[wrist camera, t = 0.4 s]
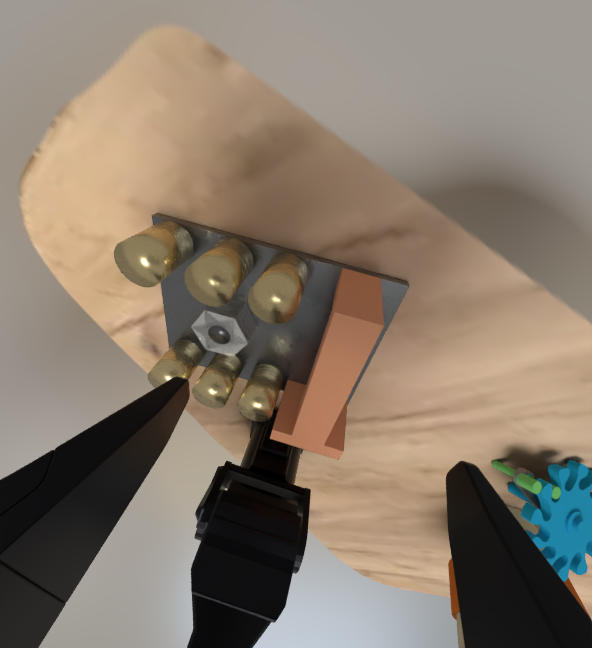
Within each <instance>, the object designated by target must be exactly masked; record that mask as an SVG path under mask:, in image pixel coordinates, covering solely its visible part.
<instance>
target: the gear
mask: <svg viewBox="0 0 592 648" xmlns="http://www.w3.org/2000/svg"><path fill="white" fill-rule="evenodd" d="M492 466H493V467H494V468H496V469H498V470H500V471H502V472H504V473H506V474H507V475H509V476H511V477H513V481H514V483H512V482H511V483H510V484H509V485H508V490H509V492H511V493H513V494H514V495H516V496H518V497H519V498H521V499H523V500H525V501H526V502H528V503H525V505H524V507H523V509H522V512H521V517H522V518H524V519H526V520H527V521H529V522H530V523H532V524H533V525H539V532H538V533H537V534H536V535H534V534H533V533H532V532H530V531H528V530H525V531H526V532H527V534H528V535H529V536H530V538H531V539H532V540H533V542H534V543H535V544H536V546H537V547H538V548H539V550H541V549H542V548H544V547H545V548H544V549H543V550H542V551H541V552H542V554H543V555H544V556H545V558H546V559H547V560H548V562H549V563H550V564H551V566H552V567H553V568H554V570H555V571H556V572H557V574H558V575H559V576H560V578H561V579H562V580H563V581H566V580H567V578H568V573H569V569H570V570H572V571H573V572H574V573H576V574H577V575H582V574H584V573H586V572H587V564H586V561H585V552H586V553H587V554H589V555H590V556H592V492H591V493H590V491H591V489H592V470H590V469H588V468H587V467H586V466H585V465H583V464H580V463H578V462H575V461H573V460H569V461H568V464H567V468H566V467H563V466H561V465H558V464H551V465H549V467H548V473H549V475H550V483H549V482H547V481H545V480H543V479H540V478H538V479H535V477H534V474H533V473H532V472H530V471H528V470H526V469H524V468H521V467H520V468H518V469H516V470H515V469H513V468H511V467H509V466H507V465H505V464H503V463H501V462H499V461H497V460H494V461H493V463H492ZM529 503H530V504H529ZM532 505H533V506H532ZM534 506H535V507H534Z"/></svg>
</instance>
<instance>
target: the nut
mask: <svg viewBox="0 0 592 648" xmlns="http://www.w3.org/2000/svg"><path fill="white" fill-rule="evenodd" d="M191 327H192V329H193V331H194V332H195V334H196V335H197V337H198V338H199V340H200V341H201V343H202V345H203V346H204V348H205V349H207V350H210V351H213V352H217V353H220V354H223V355H227V356H230V357H233V356H234V355H235V354H236V353H238V352H239V351H240V350H241V349H242V348H243V347H244V346H246V345H247V344H248V342H249V340H250V339H251V337H252V335H253V333H254V331H255V329H256V327H257V325H256V323H255V321H254V319H253V317H252V315H251V313H250V311H249V309H248V307H247V305H246V303H244V302H240V301H237V300H233V299H230V300H229V301H228V302H227V303H226V304H225V305H222V306H218V307H213V306H208V307H207V308H206V309H205V311H204V312H203V313H202V314H201V315H200V317H199V318H198V319H197V320H196V321H195V323H194V324H193V325H192V326H191Z"/></svg>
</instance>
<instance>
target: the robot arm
mask: <svg viewBox="0 0 592 648" xmlns="http://www.w3.org/2000/svg"><path fill="white" fill-rule="evenodd" d="M189 396H190V393H189V381H188V380H187V379H185V378H182V377H178V376H177V377H173V378H172V379H170V380H168V381H167V382H165V383H163V384H162V385H160V386H158V387H157V388H155V389H153V390H152V391H150V392H148V393H147V394H145V395H143V396H142V397H140V398H138V399H137V400H135V401H133V402H132V403H130V404H128V405H127V406H125V407H123V408H122V409H120V410H118V411H117V412H115V413H114V414H112V415H110V416H108V417H107V418H105V419H103V420H102V421H100V422H98V423H97V424H95V425H93V426H92V427H90V428H88V429H87V430H85V431H83V432H82V433H80V434H78V435H77V436H75V437H73V438H72V439H70V440H68V441H67V442H65V443H63V444H62V445H60V446H58V447H57V448H56V449H55V450H52V451H50V452H48V453H46V454H45V455H43V456H41V457H40V458H38V459H37V460H35V461H33V462H32V463H29V464H28V465H26V466H24V467H22V468H21V469H19V470H17V471H16V472H14V473H12V474H10V475H8V476H7V477H5V478H3V479H1V480H0V648H38V647H39V646H40V644H41V642H42V641H43V639H44V638H45V636H46V635H47V633H48V631H49V630H50V628H51V626H52V625H53V623H54V622H55V620H56V619H57V617H58V616H59V614H60V612H61V611H62V609H63V607H64V606H65V603H66V602H67V601H68V599H69V598H70V596H71V594H72V593H73V591H74V590H75V588H76V587H77V585H78V584H79V582H80V581H81V579H82V577H83V576H84V574H85V572H86V571H87V569H88V568H89V566H90V565H91V563H92V562H93V560H94V558H95V557H96V555H97V554H98V552H99V551H100V549H101V547H102V546H103V544H104V543H105V541H106V539H107V538H108V536H109V535H110V533H111V532H112V530H113V528H114V527H115V525H116V524H117V522H118V521H119V519H120V517H121V516H122V514H123V513H124V511H125V509H126V508H127V506H128V505H129V503H130V501H131V500H132V498H133V497H134V495H135V493H136V492H137V490H138V489H139V487H140V486H141V484H142V483H143V481H144V479H145V478H146V476H147V475H148V473H149V472H150V470H151V468H152V467H153V465H154V464H155V462H156V461H157V459H158V457H159V456H160V454H161V453H162V451H163V449H164V448H165V446H166V444H167V442H168V441H169V439H170V437H171V434H172V432H173V431H174V428H175V426H176V424H177V422H178V420H179V418H180V416H181V414H182V412H183V410H184V408H185V406H186V404H187V402H188V400H189ZM277 413H278V412H277V411H274V410H273V413H272V416H271V418H270V419H269V420H267V421H263V422H259V421H253V422H252V428H251V434H250V438H251V439H250V441H249V444H248V447H247V449H246V452H245V455H244V457H243V460H242V463H241V466H237V465H234V464H232V462H229V461H226V463H225V465H224V466H220V467H218V468H217V471H216V473H215V476H214V478H213V480H212V482H211V484H210V486H209V488H208V490H207V492H206V493H205V495H204V497H203V499H202V501H201V502H200V504H199V506H198V508H197V510H196V513H195V515H196V517H197V520H198V523H197V527H196V528H197V531H196V534H195V539H197V540H200V541H201V543H200V546H199V548H198V551H197V553H196V556H195V559H194V561H193V564H192V568H191V580H192V581H191V584H192V585H191V586H192V589H191V590H192V604H193V605H192V606H193V632H192V635H191V638H190V641H189V644H188V646H187V648H253V646H254V645H255V644H256V642H257V641H258V639H259V638H260V637H261V635H262V634H263V633H264V631H265V630H266V629H267V627H268V626H269V625H270V623H271V622H276V620H277V619H278V617H279V616H280V614H281V612H282V611H283V609H284V608H285V605H286V600H287V596H288V591H289V587H290V583H291V578H292V574H293V573H295V574H296V573H297V572H298V571H299V568H300V566H301V563H302V559H303V556H304V551H305V546H306V541H307V533H308V519H309V506H310V492H311V489H308V488H302V487H299V486H296V485H294V483H295V478H296V473H297V468H298V463H299V458H300V454H301V453H302V451H303V449H302V448H298V447H295V446H292V445H289V444H286V443H282V442H279V441H276V440H273V439H270V437H271V433H272V429H273V426H274V423H275V419H276V416H277ZM225 488H227V489H228V490H227V491H226V490H225ZM446 493H447V517H448V532H449V541H450V548H451V555H452V562H453V569H454V575H455V582H456V589H457V596H458V603H459V610H460V617H461V624H462V631H463V638H464V645H465V648H592V621H591V618H590V616H589V615H588V614H587V612H586V611H585V610H584V608H583V607H582V606H581V604H580V603H579V602H578V600H577V599H576V598H575V596H574V595H573V594H572V592H571V591H570V590H569V588H568V587H567V586H566V584H565V583H564V582H563V580H562V579H561V578H560V576H559V575H558V574H557V572H556V571H555V570H554V568H553V567H552V566H551V564H550V563H549V562H548V560H547V559H546V558H545V556H544V555H543V554H542V552H541V551H540V550H539V548H538V547H537V546H536V544H535V543H534V542H533V540H532V539H531V538H530V536H529V535H528V534H527V532H526V531H525V530H524V528H523V527H522V526H521V524H520V523H519V522H518V520H517V519H516V518H515V516H514V515H513V514H512V512H511V511H510V510H509V508H508V507H507V506H506V504H505V503H504V502H503V500H502V499H501V498H500V496H499V495H498V494H497V492H496V491H495V490H494V488H493V487H492V486H491V484H490V483H489V482H488V480H487V479H486V478H485V476H484V475H483V474H482V472H481V471H480V470H479V468H478V467H477V466H476V465H474V464H472V463H468V462H465V461H460V462H458V463H457V464H456V465H455V466H454V467H453V468H452V469H451V470H450V471H449V472H448V473H447V476H446Z"/></svg>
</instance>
